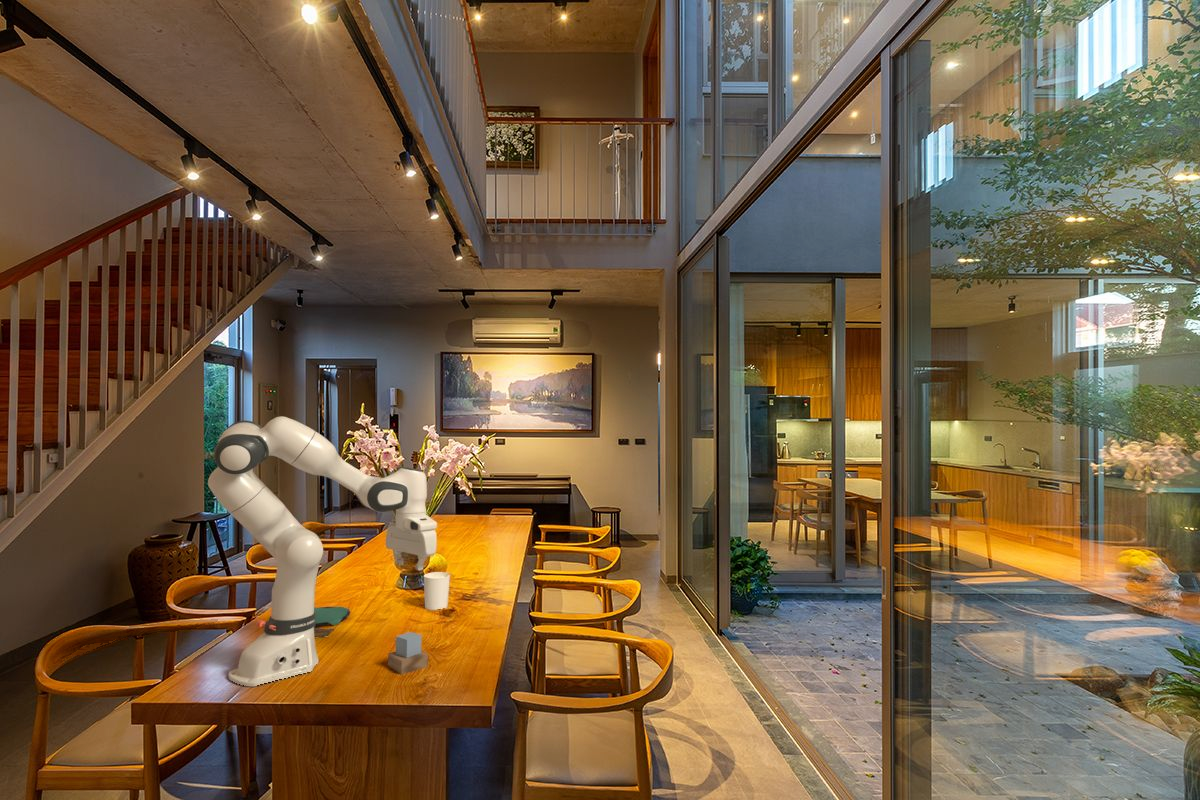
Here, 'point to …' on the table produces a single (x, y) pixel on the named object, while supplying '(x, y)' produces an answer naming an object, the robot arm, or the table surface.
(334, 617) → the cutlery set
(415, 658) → the walnut base
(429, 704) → the table surface
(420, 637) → the block
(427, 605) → the candle holder
